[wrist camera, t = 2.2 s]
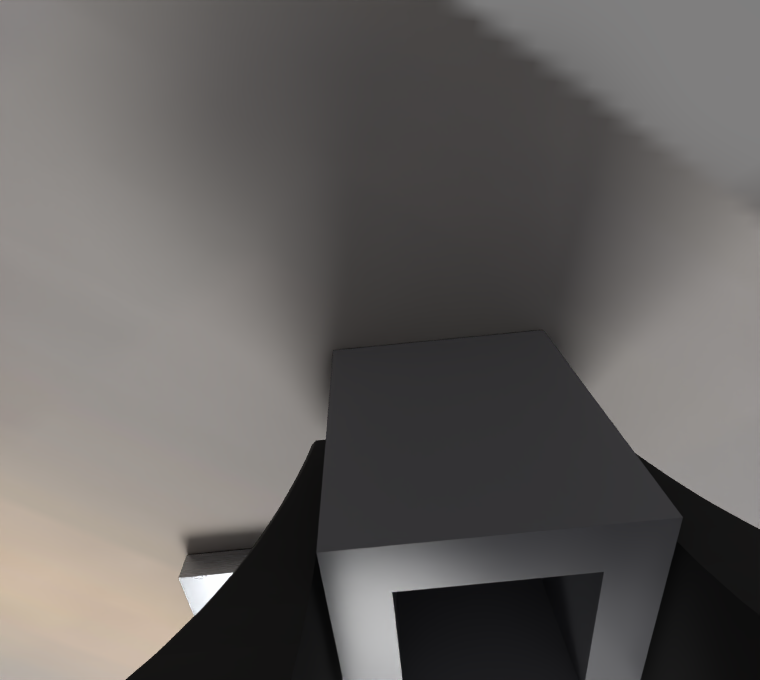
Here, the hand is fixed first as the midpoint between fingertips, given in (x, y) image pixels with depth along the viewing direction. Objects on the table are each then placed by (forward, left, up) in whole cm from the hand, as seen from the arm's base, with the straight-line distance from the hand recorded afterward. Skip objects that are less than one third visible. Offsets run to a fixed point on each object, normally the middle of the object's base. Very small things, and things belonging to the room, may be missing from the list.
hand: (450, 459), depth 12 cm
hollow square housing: (0, 0, -1) cm, 1 cm away
